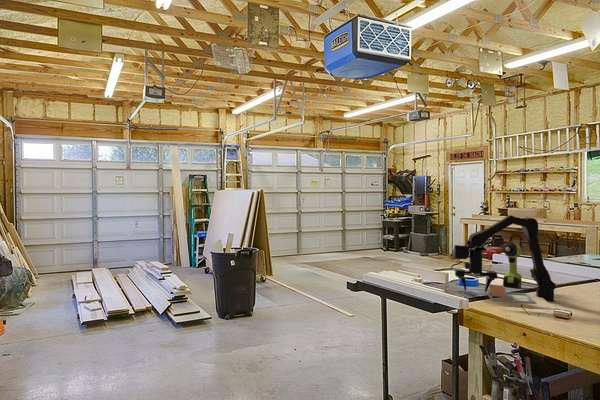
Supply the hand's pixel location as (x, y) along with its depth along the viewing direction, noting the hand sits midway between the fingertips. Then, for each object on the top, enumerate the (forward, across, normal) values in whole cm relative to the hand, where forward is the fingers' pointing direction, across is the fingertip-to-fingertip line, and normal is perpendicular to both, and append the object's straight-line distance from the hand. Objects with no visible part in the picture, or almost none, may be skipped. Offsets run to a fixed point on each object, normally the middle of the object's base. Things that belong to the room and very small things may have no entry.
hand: (475, 291), depth 212 cm
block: (+1, -10, 0) cm, 10 cm away
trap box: (+3, -15, +4) cm, 15 cm away
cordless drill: (+3, -20, -20) cm, 28 cm away
